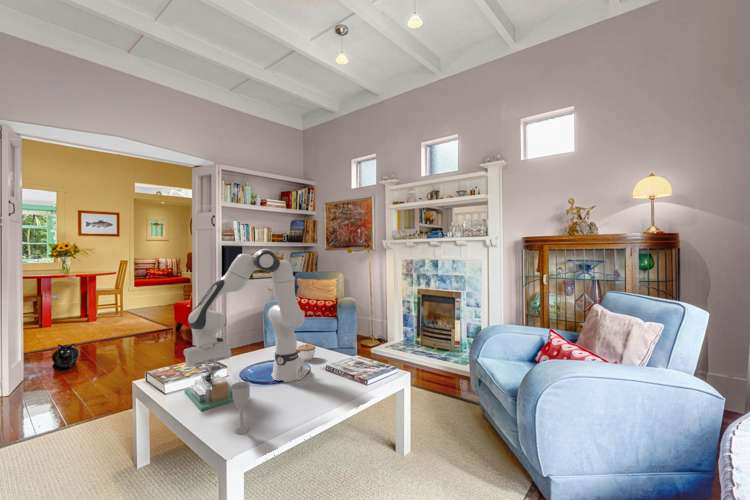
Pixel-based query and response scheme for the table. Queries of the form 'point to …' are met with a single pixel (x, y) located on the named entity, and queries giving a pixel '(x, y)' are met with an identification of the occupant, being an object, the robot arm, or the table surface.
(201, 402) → the circuit board
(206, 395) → the heat sink
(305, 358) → the lidded jar
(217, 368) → the dark grey bar
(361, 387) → the table surface
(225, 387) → the brown square block
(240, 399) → the chalice
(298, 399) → the table surface
